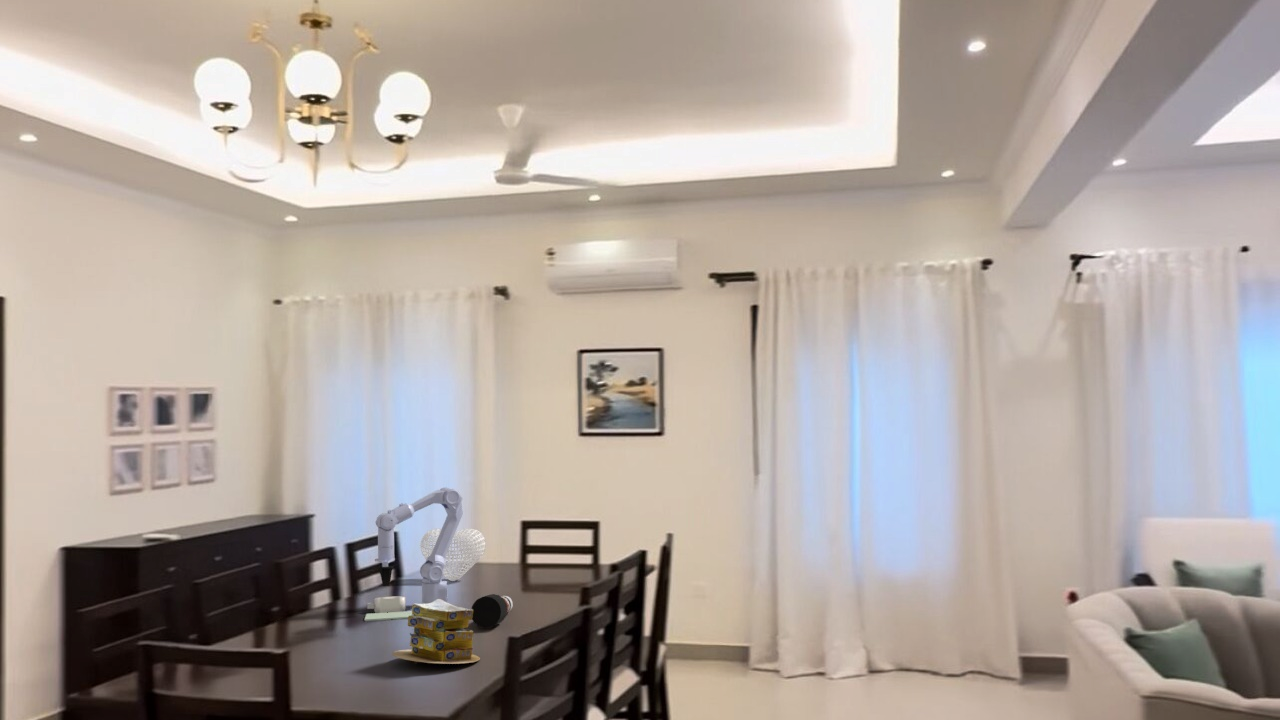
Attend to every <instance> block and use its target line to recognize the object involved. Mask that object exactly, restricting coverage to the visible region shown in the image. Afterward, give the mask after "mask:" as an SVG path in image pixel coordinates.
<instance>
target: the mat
mask: <svg viewBox="0 0 1280 720" xmlns="http://www.w3.org/2000/svg"><path fill="white" fill-rule="evenodd" d="M412 615H413V614H412V610H407V611H403V612H388V613H374V612H373V613H372V612H371V613H366V614H365V617H364V622H373V621H374V622H375V621H390V620H391V619H393V620H405V619H406V620H408V618H409V616H412ZM391 621H392V620H391Z"/></svg>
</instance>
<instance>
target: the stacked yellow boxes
mask: <svg viewBox="0 0 1280 720" xmlns="http://www.w3.org/2000/svg"><path fill="white" fill-rule="evenodd" d="M411 611H412V616H409V618H408V619H407V621H408V622H407V626H408V627H413V633H411V632H410V633H409V635H410V643H409V646H410V647H411V649H399V650H395V651H393V652H391V656H393V657H394V658H398V659H401V660H406V661H410V662H411V661H412V662H414V665H417V663H427V664H444V665H445V664H447V665H448V664H449V665H450V664H452V665H453V664H455V665H456V664H469V663H470V664H471V663H475V662H478V661H480V659H481V657H479V656H478V655H476V654H473V642H474V641H473V640H474V639H473V637H474V630H472V629H467V628H469V624H470V621H471V620H472V617H473V610H472V609H471V608H467V607H462V606H456V605H454V604H451V603H449V602H448V601H447V602H445V601H443V600H441V599H437V600H435V601H434V602H432V603H424V604H421V603H415V602H414V603H413V604H412V607H411ZM472 621H473V620H472Z"/></svg>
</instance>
